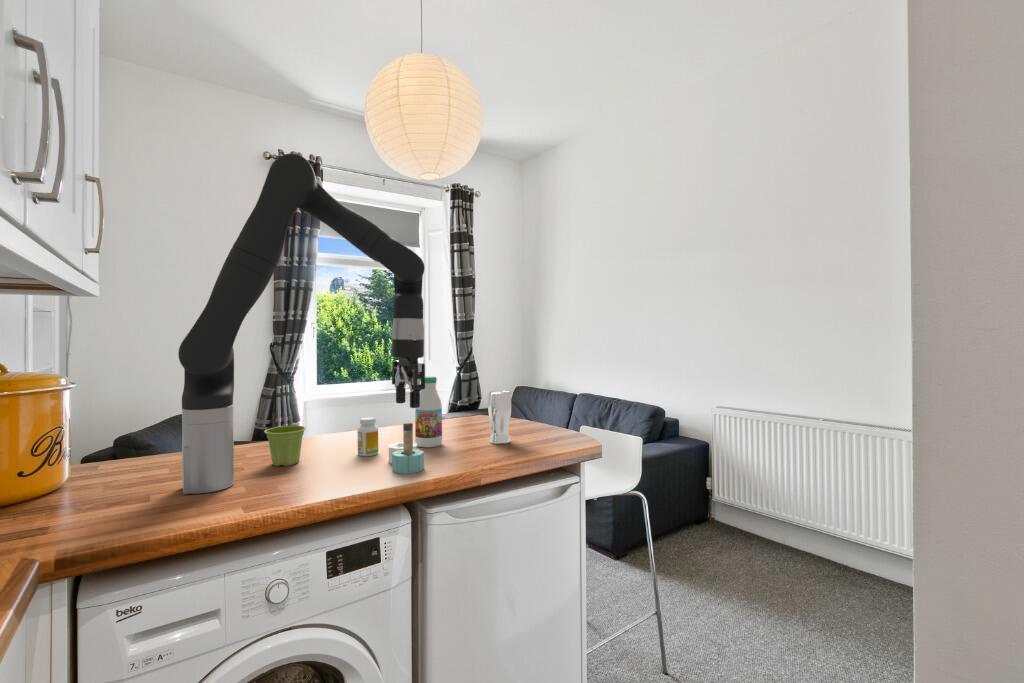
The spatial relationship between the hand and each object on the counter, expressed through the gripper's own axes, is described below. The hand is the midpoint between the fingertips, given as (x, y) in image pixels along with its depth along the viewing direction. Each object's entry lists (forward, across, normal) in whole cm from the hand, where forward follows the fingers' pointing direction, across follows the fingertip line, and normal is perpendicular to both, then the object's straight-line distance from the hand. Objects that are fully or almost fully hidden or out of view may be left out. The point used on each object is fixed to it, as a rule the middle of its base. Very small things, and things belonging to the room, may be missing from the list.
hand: (407, 405), depth 116 cm
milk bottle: (+15, -20, +15) cm, 30 cm away
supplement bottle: (+16, -20, -3) cm, 26 cm away
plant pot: (+16, -23, -23) cm, 36 cm away
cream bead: (+15, -8, +2) cm, 18 cm away
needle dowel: (+15, 0, 0) cm, 16 cm away
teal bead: (+15, 0, 0) cm, 16 cm away
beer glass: (+15, -11, +34) cm, 39 cm away
